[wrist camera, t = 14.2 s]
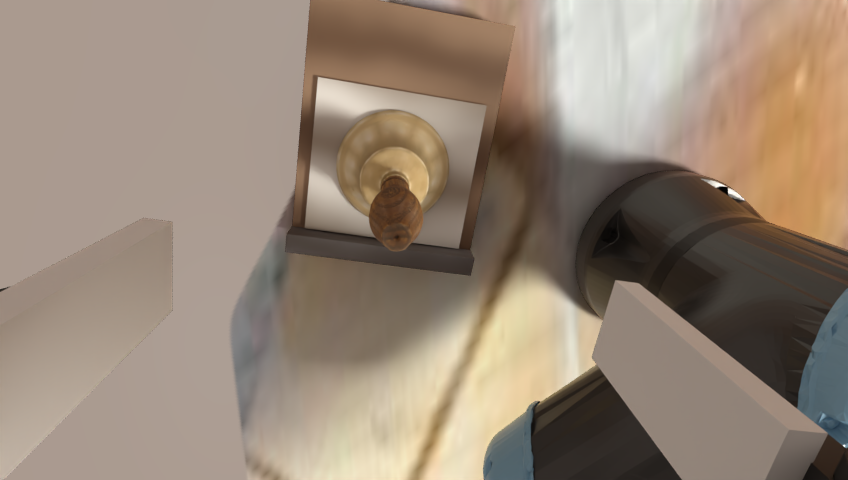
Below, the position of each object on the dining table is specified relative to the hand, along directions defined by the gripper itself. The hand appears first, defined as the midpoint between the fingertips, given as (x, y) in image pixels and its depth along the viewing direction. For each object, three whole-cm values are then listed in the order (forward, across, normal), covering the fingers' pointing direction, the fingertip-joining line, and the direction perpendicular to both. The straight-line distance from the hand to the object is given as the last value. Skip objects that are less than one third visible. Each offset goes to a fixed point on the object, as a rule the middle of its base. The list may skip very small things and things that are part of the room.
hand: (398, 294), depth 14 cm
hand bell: (+22, 0, 0) cm, 22 cm away
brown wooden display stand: (+25, 0, -2) cm, 25 cm away
